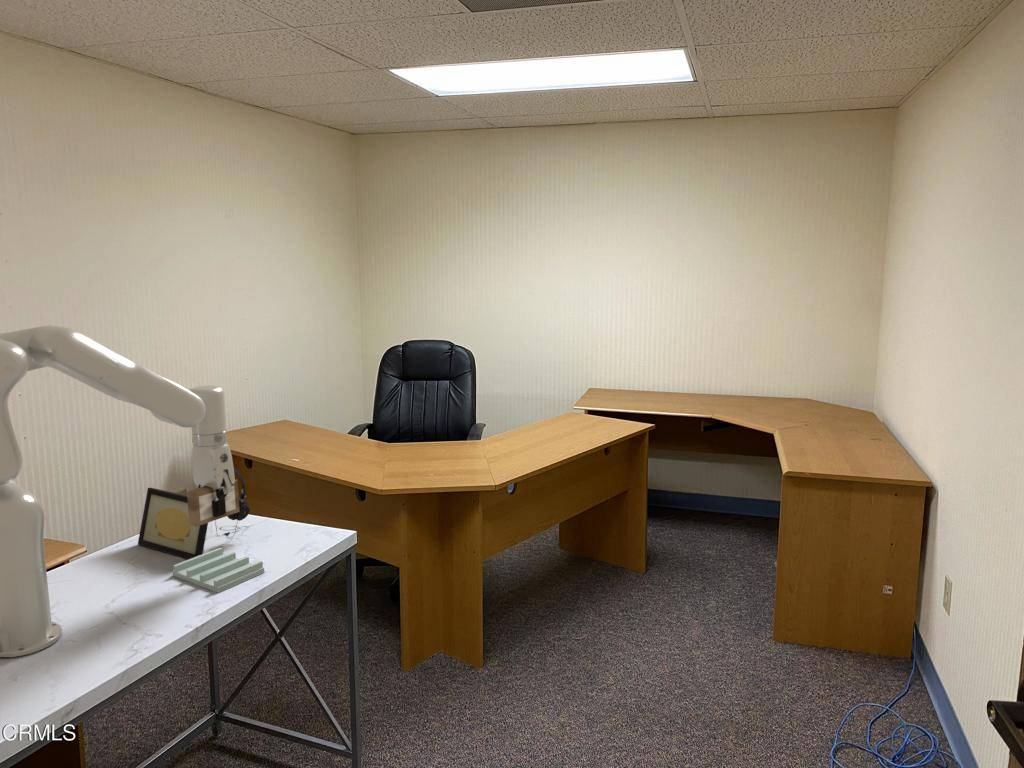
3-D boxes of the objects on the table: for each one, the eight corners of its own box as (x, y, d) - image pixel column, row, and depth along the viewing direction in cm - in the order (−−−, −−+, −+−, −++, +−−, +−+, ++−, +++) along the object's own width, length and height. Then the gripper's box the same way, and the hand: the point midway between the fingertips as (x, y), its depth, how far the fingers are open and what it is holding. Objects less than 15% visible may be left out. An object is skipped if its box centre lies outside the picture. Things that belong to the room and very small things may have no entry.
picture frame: (137, 545, 195) (138, 489, 194) (166, 537, 203) (168, 484, 202) (197, 562, 184) (199, 503, 183) (226, 554, 192) (228, 497, 191)
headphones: (269, 531, 206) (266, 462, 202) (238, 545, 196) (234, 472, 192) (229, 522, 212) (225, 455, 208) (197, 535, 202) (193, 465, 198)
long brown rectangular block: (196, 526, 170) (194, 493, 168) (189, 524, 171) (186, 491, 170) (240, 511, 180) (238, 480, 178) (233, 509, 181) (230, 478, 180)
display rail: (218, 592, 168) (217, 581, 168) (172, 575, 177) (172, 564, 176) (264, 572, 179) (263, 562, 178) (219, 557, 188) (218, 547, 187)
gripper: (246, 440, 171) (250, 515, 174) (202, 431, 179) (207, 503, 183) (218, 447, 165) (223, 525, 168) (173, 437, 173) (179, 512, 176)
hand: (214, 513), depth 175 cm, fingers closed on long brown rectangular block, 2 cm apart
